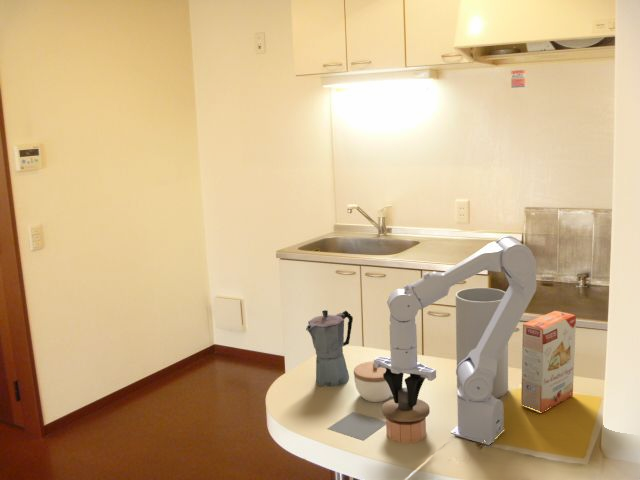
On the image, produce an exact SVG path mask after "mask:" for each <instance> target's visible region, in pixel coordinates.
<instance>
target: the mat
mask: <svg viewBox="0 0 640 480" xmlns="http://www.w3.org/2000/svg"><path fill="white" fill-rule="evenodd" d="M384 426H386V420H382V419H379V418H375V417H372V416H370V415H369V416H368V415H365V414H362V413H359V412H355V411H351V412H350V413H349V414H346V416H344V417H342V418H341V419H340V420H338V421H336V422H335V423H334V424H332V425H330V426H329V427H327V428H326V429H327V430H330V431H332V432H336V433H338V434H339V433H340V434H342V435H344V436H349V437H350V438H355V439H357V440H361V441H365V440H366V439H368V438H369V437H371V436H372V435H373V434H375V433H376V432H378V431H379V430H380V429H382V427H384Z"/></svg>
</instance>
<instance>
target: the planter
mask: <svg viewBox="0 0 640 480" xmlns="http://www.w3.org/2000/svg"><path fill="white" fill-rule="evenodd" d="M426 418H427V417H426ZM426 418H424V419H422V420H419V421H414V422H398V421H393V420H390V419H388V418H386V417H385V421H386V425H385V429H386V436H387V437H388V438H389V439H390V440H392V441H395V442H398V443H407V444H409V443H410V444H411V443H415V442H419V441H421V440H422V439H424V438H426V436H427V424H426V423H427V422H426V421H427V420H426Z"/></svg>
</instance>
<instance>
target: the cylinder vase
mask: <svg viewBox="0 0 640 480" xmlns="http://www.w3.org/2000/svg"><path fill="white" fill-rule="evenodd" d="M505 293H506V291H504V290H501V289H498V288H491V287H470V288H464V289H461V290H458V291H457V292H455V331H456V332H455V336H456V338H455V342H456V343H455V345H456V347H455V348H456V367H457V366H458V364H459V363H460V362H461V361H462V360H464V359H465V358H466V357H467V356H468V354H469V352H470V351H472V350H473V349H475V348H476V347H477V345H478V343H479V341H480V340H481V338H482V336H483V334H484V332H485V330H486V328H487V326H488V325H489V323H490V321H491V319H492V317H493V315H494V313H495V311H496V310H497V308H498V306H499V304H500V302H501V300H502V298H503V296H504V295H505ZM460 385H461V383H460V381H459V379H458V378H457V377H456V388H457V390H458V389H459V387H460ZM508 390H509V342H508V343H507V345H506V347H505V348H504V350H503V352H502V354H501V356H500V358H499V359H498V361H497V372H496V376H495V378H494V380H493V390H492V393H491V395H492V396H493V397H495V398H497V399H499V398H501V397H503V396H504V395H506V394H507V392H508Z"/></svg>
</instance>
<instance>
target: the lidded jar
mask: <svg viewBox="0 0 640 480" xmlns="http://www.w3.org/2000/svg"><path fill="white" fill-rule="evenodd" d="M385 372H386V369H385V368H381V367H379V368H375V367H374V360H373V361H367V362H362V363H359V364H357V365H356V366H355V367H354V368H353V375H354V376H353V377H354V384H355V388H356V390H357V392H358V394H359V395H360V397H361V398H363V399H364V400H366V401H368V402H372V403H380V402H381V403H382V402H384V401H385V402H386V401H388V399H390V398H391V397H392V396H393V395H392V392H391V390H390V387H389V385H388V383H387V382H386V380H385V379H384V377H383V374H384V373H385Z"/></svg>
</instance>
